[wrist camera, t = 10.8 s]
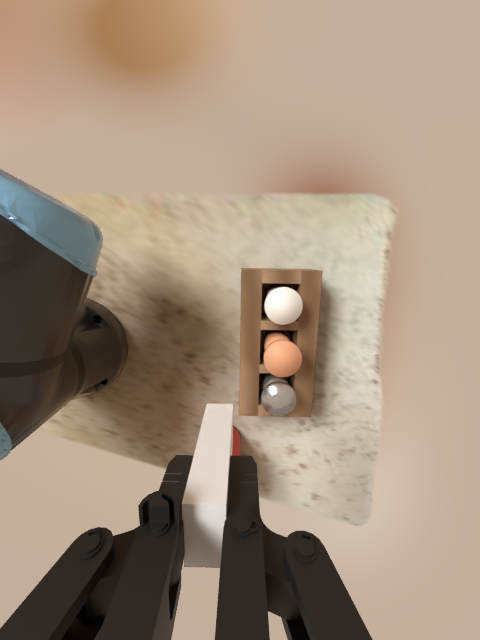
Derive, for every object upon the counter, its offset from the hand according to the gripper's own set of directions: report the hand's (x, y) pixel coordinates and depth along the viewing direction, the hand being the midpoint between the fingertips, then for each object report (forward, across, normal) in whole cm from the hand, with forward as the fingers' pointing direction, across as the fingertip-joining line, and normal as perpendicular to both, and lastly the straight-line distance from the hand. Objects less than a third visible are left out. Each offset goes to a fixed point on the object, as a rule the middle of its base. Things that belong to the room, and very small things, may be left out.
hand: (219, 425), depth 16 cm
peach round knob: (+23, +6, -2) cm, 24 cm away
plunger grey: (+24, +6, -8) cm, 26 cm away
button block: (+26, +6, -2) cm, 27 cm away
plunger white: (+24, +6, +4) cm, 25 cm away
